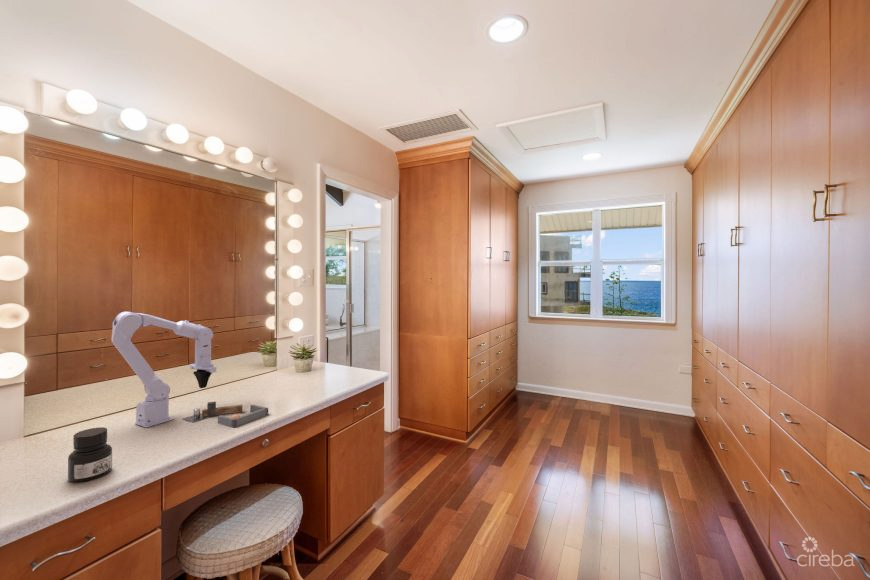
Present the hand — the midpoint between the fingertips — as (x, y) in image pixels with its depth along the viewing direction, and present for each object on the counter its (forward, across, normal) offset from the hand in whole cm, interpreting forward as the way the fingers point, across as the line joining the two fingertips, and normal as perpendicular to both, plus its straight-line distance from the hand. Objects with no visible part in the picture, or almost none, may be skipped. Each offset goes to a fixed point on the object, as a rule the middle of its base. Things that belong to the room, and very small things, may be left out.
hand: (202, 387), depth 150 cm
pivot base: (+10, -6, +6) cm, 13 cm away
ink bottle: (+10, -23, +45) cm, 52 cm away
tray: (+10, -23, -2) cm, 25 cm away
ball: (+8, -24, +3) cm, 26 cm away
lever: (+9, -12, -1) cm, 15 cm away
